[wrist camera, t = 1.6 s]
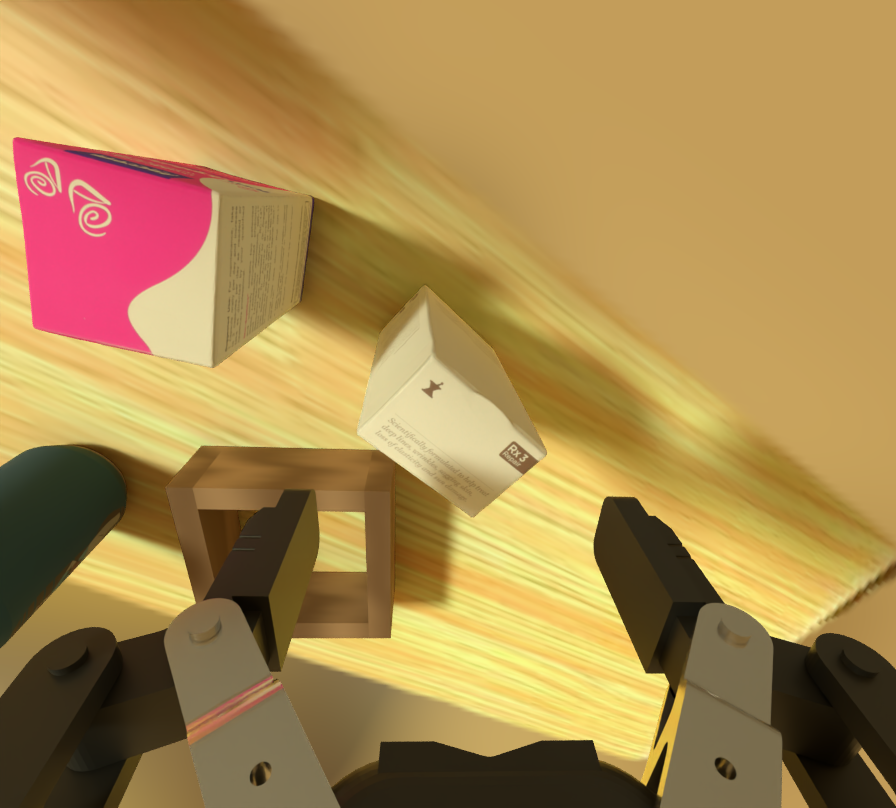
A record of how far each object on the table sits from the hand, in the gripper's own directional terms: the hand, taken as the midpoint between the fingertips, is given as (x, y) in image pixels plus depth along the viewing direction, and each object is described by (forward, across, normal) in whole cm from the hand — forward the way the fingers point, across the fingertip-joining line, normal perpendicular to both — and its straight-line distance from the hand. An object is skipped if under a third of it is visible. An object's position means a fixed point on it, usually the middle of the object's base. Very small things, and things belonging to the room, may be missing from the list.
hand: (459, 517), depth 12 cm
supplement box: (+16, +10, -6) cm, 20 cm away
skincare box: (+16, 0, 0) cm, 16 cm away
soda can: (+16, +24, +11) cm, 31 cm away
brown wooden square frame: (+16, +9, +14) cm, 23 cm away
